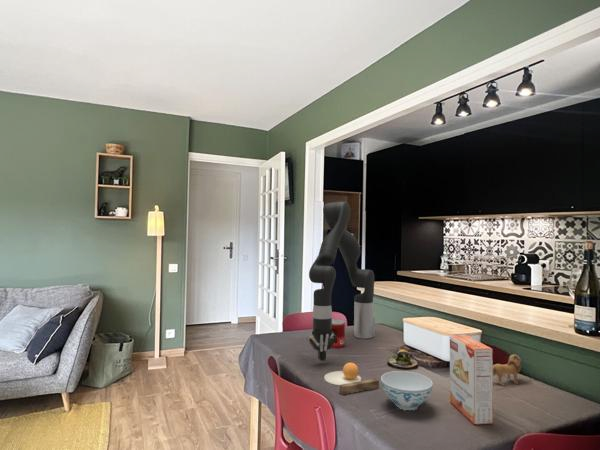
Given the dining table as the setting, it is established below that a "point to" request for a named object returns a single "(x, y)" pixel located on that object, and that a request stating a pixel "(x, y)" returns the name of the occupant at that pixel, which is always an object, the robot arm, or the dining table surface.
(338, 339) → the canned food
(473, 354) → the cracker box
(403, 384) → the chinaware
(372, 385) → the strip
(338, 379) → the disc
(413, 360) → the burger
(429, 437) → the dining table surface
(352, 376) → the ball
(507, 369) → the lion figurine
